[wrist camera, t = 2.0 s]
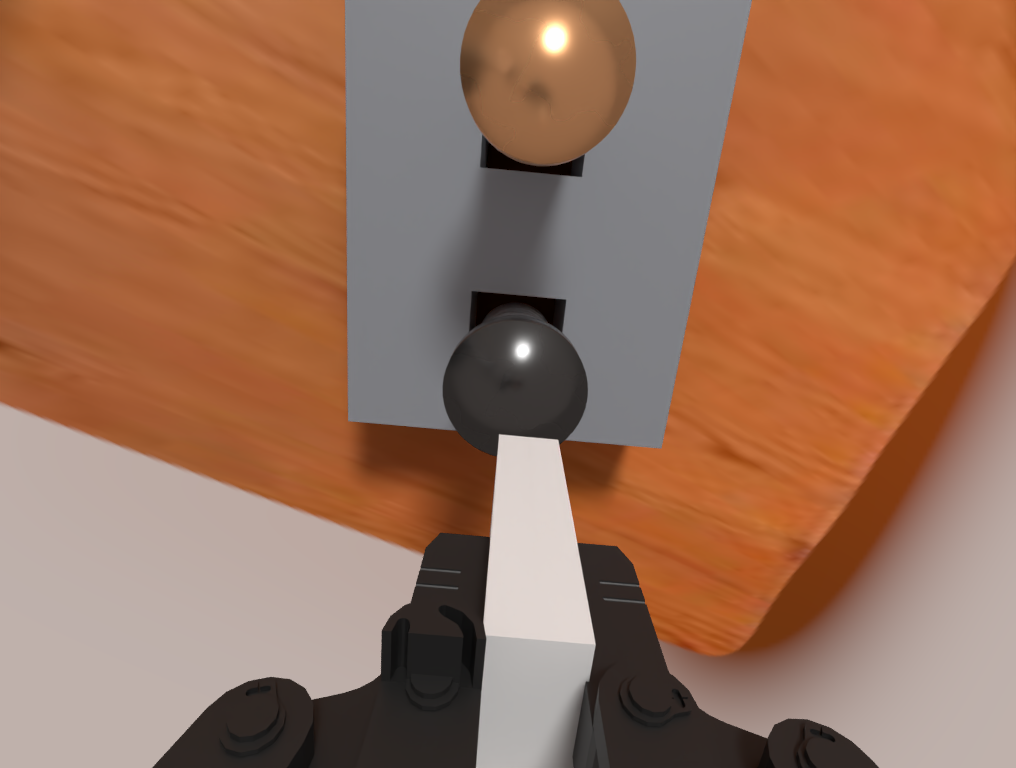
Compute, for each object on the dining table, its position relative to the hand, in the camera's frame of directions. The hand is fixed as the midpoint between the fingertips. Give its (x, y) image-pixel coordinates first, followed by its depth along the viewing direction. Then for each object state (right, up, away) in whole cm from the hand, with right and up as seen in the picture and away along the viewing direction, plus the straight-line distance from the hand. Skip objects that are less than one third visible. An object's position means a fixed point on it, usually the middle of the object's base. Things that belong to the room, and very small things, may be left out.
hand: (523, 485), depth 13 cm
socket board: (+1, +12, +18) cm, 22 cm away
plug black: (0, +5, +15) cm, 16 cm away
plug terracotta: (+1, +16, +12) cm, 20 cm away
